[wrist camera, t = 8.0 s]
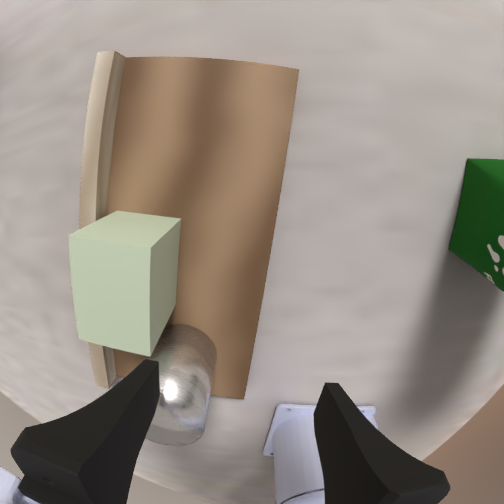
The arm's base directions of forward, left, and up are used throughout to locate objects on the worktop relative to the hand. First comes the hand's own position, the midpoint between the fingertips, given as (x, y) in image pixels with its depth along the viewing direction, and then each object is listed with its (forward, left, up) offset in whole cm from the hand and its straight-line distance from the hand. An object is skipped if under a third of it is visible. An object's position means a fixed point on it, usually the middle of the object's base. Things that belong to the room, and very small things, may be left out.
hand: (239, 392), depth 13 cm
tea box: (+7, -2, -9) cm, 11 cm away
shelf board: (+5, -3, -10) cm, 11 cm away
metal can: (+4, +5, -9) cm, 11 cm away
